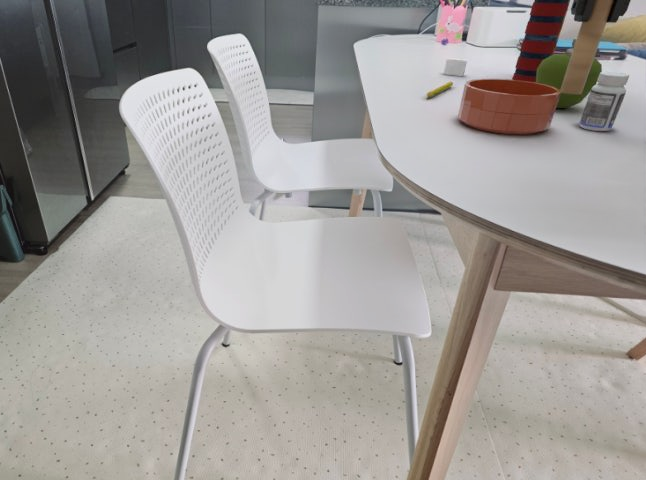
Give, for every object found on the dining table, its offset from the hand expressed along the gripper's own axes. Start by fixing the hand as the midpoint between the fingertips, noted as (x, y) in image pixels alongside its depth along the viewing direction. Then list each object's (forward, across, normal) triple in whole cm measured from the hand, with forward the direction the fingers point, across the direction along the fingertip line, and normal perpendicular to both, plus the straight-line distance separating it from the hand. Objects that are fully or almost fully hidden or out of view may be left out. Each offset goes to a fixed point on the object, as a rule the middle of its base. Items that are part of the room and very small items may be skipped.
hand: (595, 20), depth 49 cm
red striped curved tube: (+17, +17, +66) cm, 70 cm away
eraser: (+17, +1, +75) cm, 77 cm away
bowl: (+17, +1, +25) cm, 30 cm away
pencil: (+17, -6, +50) cm, 53 cm away
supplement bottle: (+17, +26, +67) cm, 74 cm away
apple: (+17, +15, +41) cm, 47 cm away
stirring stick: (+7, 0, 0) cm, 7 cm away
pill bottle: (+17, +16, +26) cm, 35 cm away
